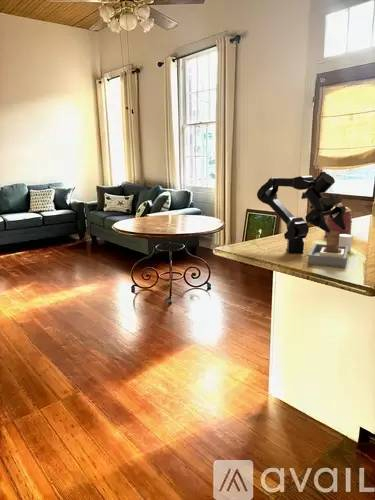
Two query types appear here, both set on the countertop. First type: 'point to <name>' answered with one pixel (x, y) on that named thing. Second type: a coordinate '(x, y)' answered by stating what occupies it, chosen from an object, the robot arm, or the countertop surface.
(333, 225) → the canister
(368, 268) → the countertop surface
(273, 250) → the countertop surface
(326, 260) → the walled box
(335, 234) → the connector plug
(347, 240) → the white cube
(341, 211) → the robot arm
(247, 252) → the countertop surface
